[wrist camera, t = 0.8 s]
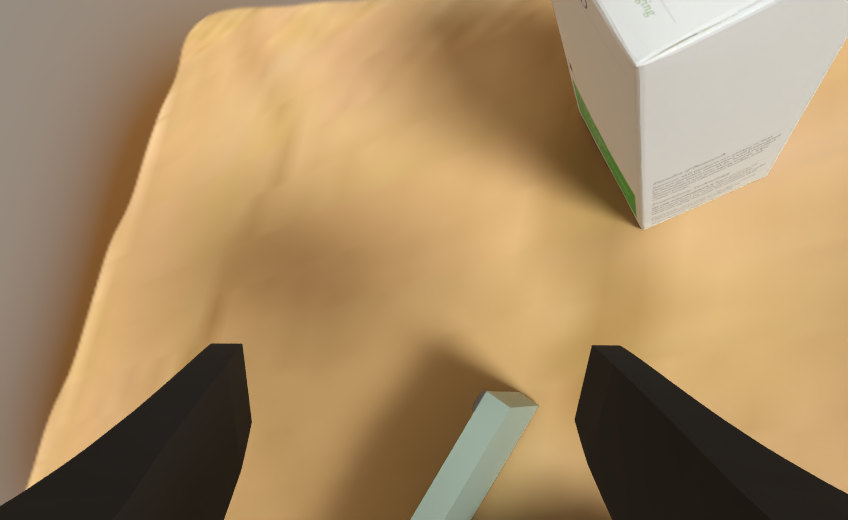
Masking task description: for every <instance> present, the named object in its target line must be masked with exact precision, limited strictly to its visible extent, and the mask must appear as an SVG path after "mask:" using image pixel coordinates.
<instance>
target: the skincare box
mask: <svg viewBox="0 0 848 520" xmlns="http://www.w3.org/2000/svg"><path fill="white" fill-rule="evenodd" d="M552 4H553V8H554V12H555V16H556V20H557V24H558V28H559V32H560V36H561V40H562V44H563V48H564V52H565V56H566V59H567V64H568V68H569V72H570V77H571V81H572V85H573V89H574V93H575V97H576V101H577V105H578V109H579V112H580V114H581V116H582V118H583V119H584V121H585V123H586V125H587V127H588V129H589V131H590V133H591V135H592V137H593V139H594V141H595V143H596V145H597V146H598V148H599V150H600V152H601V154H602V156H603V158H604V160H605V161H606V163H607V165H608V167H609V169H610V171H611V172H612V174H613V176H614V178H615V180H616V182H617V184H618V185H619V187H620V189H621V191H622V193H623V195H624V197H625V199H626V201H627V202H628V204H629V206H630V208H631V210H632V212H633V214H634V216H635V218H636V220H637V222H638V224H639V226H640V227H641V229H643V230H645V229H647V228H650V227H652V226H655V225H657V224H660V223H662V222H664V221H666V220H669V219H671V218H673V217H675V216H678V215H680V214H682V213H684V212H687V211H689V210H691V209H694V208H696V207H698V206H700V205H703V204H705V203H707V202H710V201H712V200H714V199H716V198H718V197H721V196H723V195H725V194H727V193H730V192H732V191H734V190H736V189H739V188H741V187H743V186H745V185H747V184H750V183H752V182H754V181H756V180H759V179H762V178H764V177H766V176H767V175H768V173H769V171H770V170H771V168H772V166H773V165H774V163H775V161H776V160H777V158H778V156H779V154H780V153H781V151H782V149H783V148H784V146H785V144H786V142H787V140H788V139H789V137H790V135H791V133H792V132H793V130H794V128H795V127H796V125H797V123H798V121H799V120H800V118H801V116H802V114H803V113H804V111H805V109H806V108H807V106H808V104H809V103H810V101H811V99H812V97H813V95H814V94H815V92H816V90H817V89H818V87H819V85H820V84H821V82H822V80H823V78H824V77H825V75H826V73H827V71H828V69H829V68H830V66H831V64H832V63H833V61H834V59H835V58H836V56H837V54H838V52H839V51H840V49H841V47H842V46H843V44H844V42H845V41H846V39H847V37H848V0H552Z"/></svg>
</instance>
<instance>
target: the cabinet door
mask: <svg viewBox="0 0 848 520" xmlns="http://www.w3.org/2000/svg"><path fill="white" fill-rule="evenodd" d="M538 407H539V405H538V404H536V403H535V402H533V401H532V400H530V399H529V398H527V397H526V396H524V395H523V394H521V393H520V392H501V391H488V390H487V389H485V390H484V391H482V392H481V393H480V395H479V396H478V397H477V399H476V401H475V402H474V404H473V407H472V411H474V413H473V415H472V417H471V418H470V420H469V422H468V423H467V425H466V427H465V428H464V430H463V432H462V433H461V435H460V437H459V439H458V440H457V442H456V444H455V445H454V447H453V449H452V450H451V452H450V454H449V455H448V457H447V459H446V461H445V462H444V464H443V466H442V467H441V469H440V471H439V472H438V474H437V476H436V477H435V479H434V481H433V483H432V484H431V486H430V488H429V489H428V491H427V493H426V494H425V496H424V498H423V499H422V501H421V503H420V504H419V506H418V508H417V510H416V511H415V513H414V515H413V516H412V518H411V520H471V519H472V518H473V516H474V514H475V513H476V511H477V509H478V508H479V506H480V504H481V503H482V501H483V499H484V498H485V496H486V494H487V493H488V491H489V489H490V487H491V486H492V484H493V482H494V481H495V479H496V477H497V476H498V474H499V472H500V471H501V469H502V467H503V466H504V464H505V462H506V460H507V459H508V457H509V455H510V454H511V452H512V450H513V449H514V447H515V445H516V444H517V442H518V440H519V439H520V437H521V435H522V433H523V432H524V430H525V428H526V427H527V425H528V423H529V422H530V420H531V418H532V417H533V415H534V413H535V412H536V410H537V408H538Z"/></svg>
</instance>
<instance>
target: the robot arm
mask: <svg viewBox="0 0 848 520" xmlns="http://www.w3.org/2000/svg"><path fill="white" fill-rule="evenodd" d="M251 423H252V420H251V412H250V404H249V395H248V387H247V379H246V370H245V362H244V354H243V345H242V344H210V345H209V346H208V347H206V348H205V349H204V350H203V351H202V352H201V353H200V354H198V355H197V356H196V357H195V358H194V359H193V360H192V361H191V362H189V363H188V364H187V365H186V366H185V367H184V368H183V369H182V370H180V371H179V372H178V373H177V374H176V375H175V376H174V377H173V378H171V379H170V380H169V381H168V382H167V383H166V384H165V385H164V386H162V387H161V388H160V389H159V390H158V391H157V392H156V393H154V394H153V395H152V396H151V397H150V398H149V399H147V400H146V401H145V402H144V403H143V404H142V405H140V406H139V407H138V408H137V409H136V410H135V411H133V412H132V413H131V414H130V415H128V416H127V417H126V418H124V419H123V420H122V421H121V422H119V423H118V424H117V425H116V426H114V427H113V428H112V429H110V430H109V431H108V432H107V433H105V434H104V435H103V436H102V437H100V438H99V439H98V440H96V441H95V442H94V443H93V444H91V445H90V446H89V447H87V448H86V449H85V450H83V451H82V452H81V453H79V454H78V455H77V456H75V457H74V458H72V459H71V460H70V461H68V462H67V463H65V464H64V465H63V466H61V467H60V468H58V469H57V470H55V471H54V472H52V473H51V474H49V475H48V476H46V477H45V478H43V479H42V480H40V481H39V482H37V483H36V484H34V485H33V486H31V487H30V488H28V489H27V490H25V491H24V492H22V493H21V494H19V495H18V496H16V497H14V498H13V499H11V500H10V501H8V502H6V503H5V504H3V505H1V506H0V520H224V518H225V515H226V512H227V509H228V507H229V504H230V501H231V498H232V495H233V492H234V489H235V487H236V484H237V481H238V478H239V475H240V472H241V469H242V464H243V460H244V456H245V451H246V447H247V442H248V438H249V433H250V428H251ZM575 423H576V426H577V430H578V434H579V437H580V441H581V444H582V447H583V451H584V454H585V457H586V460H587V463H588V466H589V468H590V471H591V473H592V475H593V478H594V480H595V482H596V484H597V487H598V489H599V491H600V493H601V496H602V498H603V500H604V502H605V505H606V507H607V509H608V511H609V513H610V516H611V518H612V520H848V494H847V493H845V492H843V491H841V490H839V489H837V488H836V487H834V486H832V485H830V484H828V483H826V482H824V481H823V480H821V479H819V478H817V477H816V476H814V475H812V474H810V473H809V472H807V471H805V470H804V469H802V468H800V467H798V466H797V465H795V464H793V463H791V462H790V461H788V460H786V459H784V458H783V457H781V456H779V455H778V454H776V453H774V452H773V451H771V450H770V449H768V448H766V447H765V446H763V445H762V444H760V443H759V442H757V441H755V440H754V439H752V438H751V437H749V436H748V435H746V434H745V433H743V432H742V431H740V430H739V429H737V428H736V427H734V426H733V425H731V424H730V423H728V422H727V421H725V420H724V419H722V418H721V417H719V416H718V415H716V414H715V413H714V412H712V411H711V410H709V409H708V408H706V407H705V406H704V405H702V404H701V403H699V402H698V401H697V400H695V399H694V398H692V397H691V396H690V395H688V394H687V393H686V392H684V391H683V390H682V389H680V388H679V387H677V386H676V385H675V384H673V383H672V382H671V381H669V380H668V379H667V378H665V377H664V376H663V375H661V374H660V373H658V372H657V371H656V370H654V369H653V368H652V367H650V366H649V365H648V364H646V363H645V362H643V361H642V360H641V359H639V358H638V357H636V356H635V355H634V354H632V353H631V352H629V351H628V350H626V349H625V348H623V347H622V346H609V345H592V348H591V352H590V356H589V360H588V365H587V369H586V373H585V378H584V382H583V386H582V390H581V395H580V399H579V403H578V408H577V412H576V416H575Z"/></svg>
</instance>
